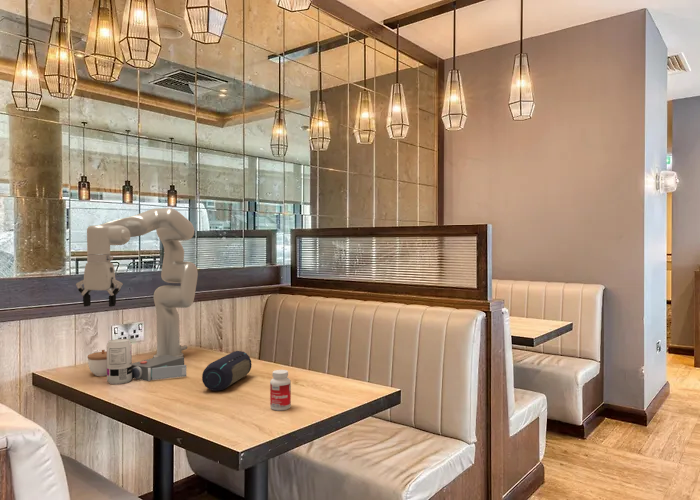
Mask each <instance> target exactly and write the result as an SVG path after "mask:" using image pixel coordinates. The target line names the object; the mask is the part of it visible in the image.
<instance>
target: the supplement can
mask: <svg viewBox="0 0 700 500" xmlns="http://www.w3.org/2000/svg"><path fill="white" fill-rule="evenodd" d="M132 349H133V348H132V343H131V341H130V339H129V338H117V339H116V338H115V339H111V340H108V342H107V344H106V351H107V376H106V382H107V383H108V384H110V385H122V384H128V383H129V382H131V381H132V363H133V361H132V359H133V357H132V356H133V355H132V354H133V353H132V351H133V350H132Z"/></svg>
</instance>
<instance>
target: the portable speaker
mask: <svg viewBox="0 0 700 500" xmlns="http://www.w3.org/2000/svg"><path fill="white" fill-rule="evenodd" d="M251 369H252V360H251V358H250V355H249V354H248V353H246V352H245V351H242V350H236V351H235V350H234V351H231V352H230V353H228V354H227V355H224V356H222V357H220V358H218V359H216V360H214V361H213V362H209V364H208V365H206V367H205V368H204V370H203V372H202V374H201V375H202V376H201V381H202V384H203V385H204V387H205V388H207V389H208V390H210V391H214V392H219V391H222V390H223V391H224V390H226V389H227V388H228V387H230V386H232V385H233V384H234V383H236V382H237V381H239V380H241V379H242V378H244V377H246V376H247V375H248V374H249V373H250V372H251Z"/></svg>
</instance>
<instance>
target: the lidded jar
mask: <svg viewBox="0 0 700 500" xmlns="http://www.w3.org/2000/svg"><path fill="white" fill-rule="evenodd" d="M87 365H88V369H89V371H90V372H91V373H92V374H93V375H94V376H95V377H105V376H106V377H107V350H106V351H105V349H101V351H96V352H93V353H90V354H88V355H87Z"/></svg>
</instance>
